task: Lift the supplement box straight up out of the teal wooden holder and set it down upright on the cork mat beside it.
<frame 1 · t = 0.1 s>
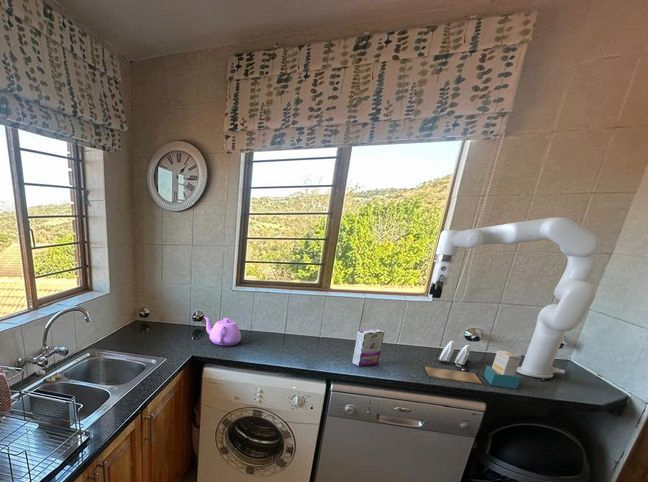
hand: (434, 296, 189), 31 cm above the worktop, tool pointing down, fingers open, 9 cm apart
shaker set: (451, 363, 195), on the worktop
cork mat: (451, 375, 179), on the worktop
supplement box: (499, 382, 172), resting in holder
candy bar box: (364, 364, 193), on the worktop
teapot: (220, 342, 224), on the worktop
holder: (499, 382, 172), on the worktop
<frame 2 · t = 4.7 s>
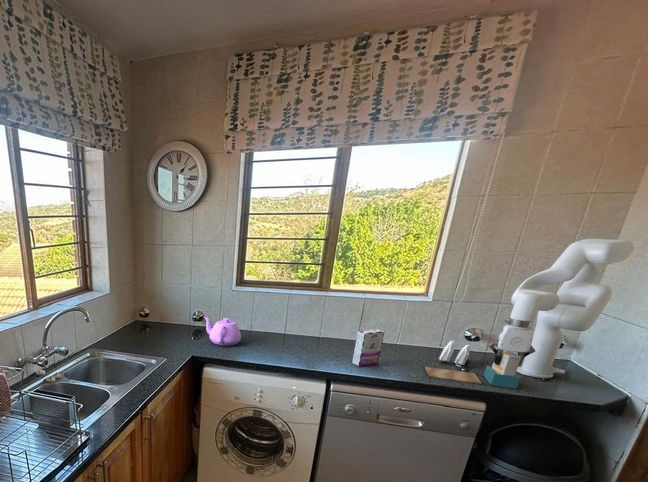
hand: (505, 364, 169), 8 cm above the worktop, tool pointing down, fingers closed on supplement box, 5 cm apart
supplement box: (499, 382, 172), resting in holder, touching gripper
everything else where it was.
when the fingers open (8 cm above the worktop, at t = 12.6 s): supplement box stays where it is, resting on cork mat.
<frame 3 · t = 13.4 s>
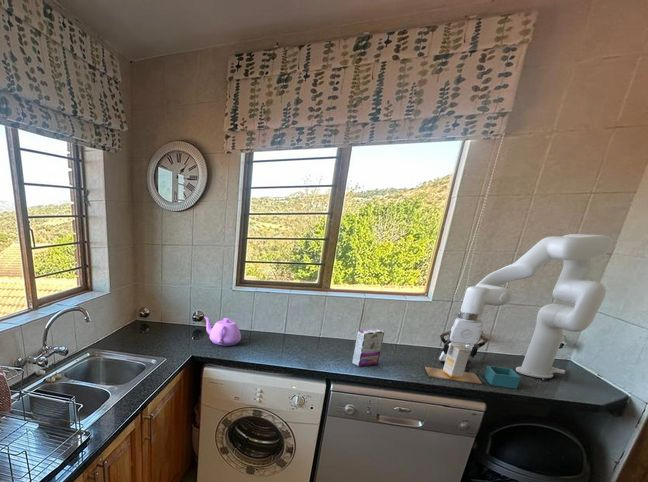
hand: (458, 354, 176), 10 cm above the worktop, tool pointing down, fingers open, 9 cm apart
supplement box: (451, 374, 179), resting on cork mat
everything else where it was.
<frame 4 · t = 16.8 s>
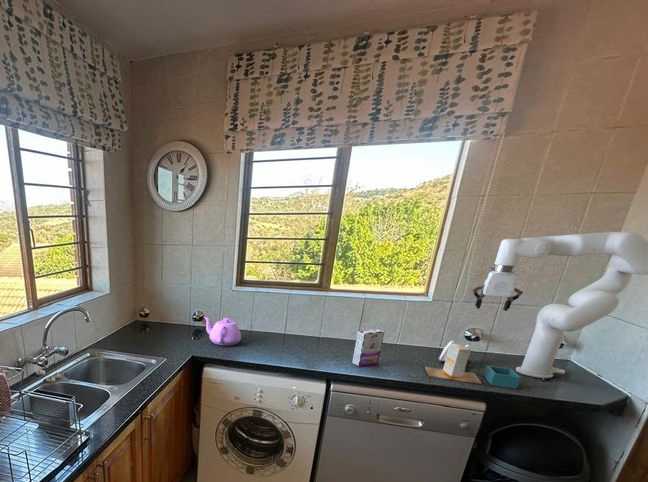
hand: (491, 309, 176), 28 cm above the worktop, tool pointing down, fingers open, 9 cm apart
nothing on the worktop moved.
at the end: supplement box inside the target area (0.0 cm from its centre), resting on cork mat; supplement box tilted 0°; the gripper is holding nothing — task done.
